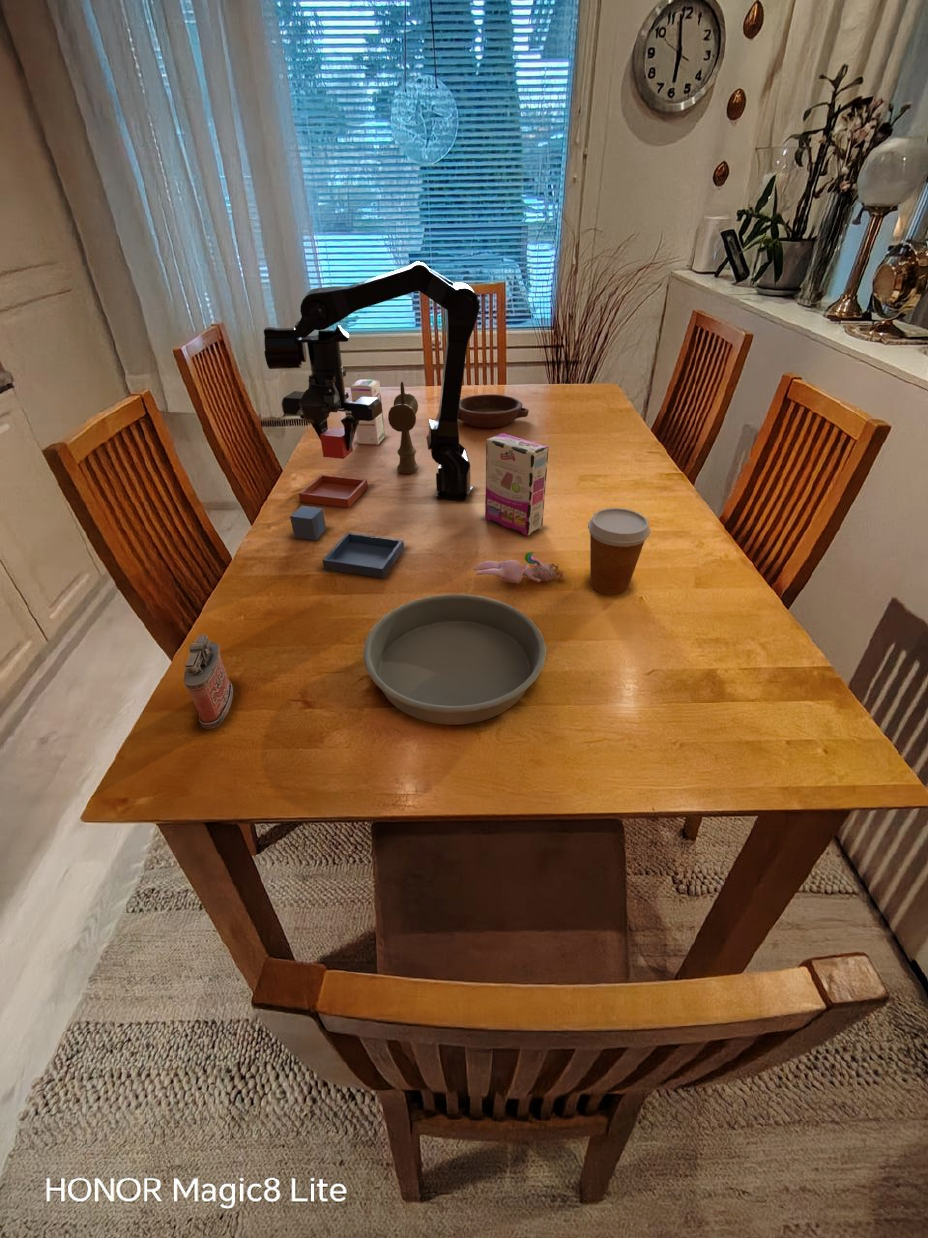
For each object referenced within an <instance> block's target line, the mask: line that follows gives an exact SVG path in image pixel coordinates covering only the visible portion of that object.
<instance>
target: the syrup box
mask: <svg viewBox="0 0 928 1238" xmlns="http://www.w3.org/2000/svg"><path fill="white" fill-rule="evenodd" d="M349 388H350V394H351V402H355V401H356V400H358V399H359V398H361V397H373V398H378V399H379V400H380V402H381V403H382V395H381V385H380V380H377V379H358V380H357V381H355V382H354V383H353V384H351V385H350V387H349ZM382 404H383V403H382ZM383 411H384V410H382V413H381V414H380V415H378V416H377V417H376V418H375V419H374V420H373V421H361V420H360V421H359V424H358V426H357V429H356V432H355V434H356V439H357V443H358V444H363V445H374V446H375V445H377V446H379V445H380V443H381V442H382V441H383V440H384V438H385V437H386V431H385V422H384V421H385V420H384V412H383Z"/></svg>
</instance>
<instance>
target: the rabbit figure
mask: <svg viewBox="0 0 928 1238" xmlns="http://www.w3.org/2000/svg"><path fill="white" fill-rule="evenodd" d="M534 554H535V552H534V551H527V552H526V553H525V554H524V557H523V558H524V561H525V562H526V564H524V566H522V564H521V563H520V562H519V561H517V560H515V559H505V560H503V561H502V560H501V561H495V560H485V561H482V562H480V563H478V564H477V565H476V566H474V568H473V571H478V572H475V575H476V576H481V575H491V576H495V577H499V578H500V579H502V581H504V582H506V583H510V584H511V583H512V584H516V585H518V584H520V583H522V580H523V577H526V578H527V579H531V580H532V581H535V582H537V583H540V582H541V581H542V582H545V583H549V582H552V581H553V580H554V578H555V577H556V576H557V575H559V581H562V580H563V576H564V574H563V573H564V571H561V572H560V571H559V565H560V563H558V564H555V563H554V562H553V563H550V564H547V563H546V562H541V561H540V559H538V558H537V557H534V556H533V555H534ZM531 565H534V567H529V566H531ZM553 568H555V569H554V571H553V570H552V569H553Z"/></svg>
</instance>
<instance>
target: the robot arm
mask: <svg viewBox="0 0 928 1238" xmlns="http://www.w3.org/2000/svg"><path fill="white" fill-rule="evenodd" d="M415 292H419V293H421V294H423V295H424V296H426V297H427V298H429V299H430V300H431V301H433V302H434V303H436V305H438V306H440V307H441V308H443V309H444V320H445V321H444V323H445V332H446V333H445V335H446V343H445V351H444V361H443V367H442V368H443V369H442V370H443V371H442V377H441V378H442V379H441V385H440V386H441V387H440V395H439V405H438V412H437V416H436V418H435V420H433V419H428V433H427V435H426V443H427V450H429V451H430V454H431V458H432V459H433V461H434V462H435V463H436V464H438V467H437V472H436V473H435V483H436V485H435V486H436V488H435V489H436V492H437V494H436V495H435V496H436V498H437V499H445V500H451V501H452V500H453V501H461V502H464V501H466V500H468V497H469V496H470V494H471V493H472V491H473V489H474V488H473V486H472V485H471V463H470V459H469V455H468V453H467V449H466V448H465V447H464V446H463V445H462V444H461V443H460V434H459V433H460V432H459V420H458V412H459V404H460V400H461V396H462V390H463V389H462V388H463V382H464V381H463V380H464V373H465V365H466V358H467V351H468V344H469V342H470V339H471V336H472V334H473V332H474V330H475V326H476V322H477V319H478V316H479V314H480V308H481V307H480V306H481V305H480V303H481V302H480V300H479V297H478V295H477V294H476V292H475V291H474V290H473V288H472V287H471V286H469V285H468V284H467V283H464V282H455V283H454V282H453V281H451V280H449V279H448V278H446V277H445V276H443V275H441V274H440V273H438V272H436V271H435V270H433V269H431V268H429V267H428V266H427V264H425V263H424V262H420V261H415V262H413V263H412V264H410V265H408V266H405V267H401V268H400V269H396V270H394V271H393V270H392V271H390V272H387V273H384V274H381V275H377V276H375V277H371V278H369V279H365V280H363V281H359V282H356V283H353V284H351V285H350V284H349V285H333V286H331V285H330V286H324V287H316V288H312V289H310V290H309V291H308V292H307V293H306V294H305V296H304V297H303V299H302V301H301V303H300V309H299V311H300V316H301V318H300V320H297V321H296V323H295V325H294V327H280V328H277V327H272V326H271V327H270V326H268V327H265V328H264V329H263V337H264V340H263V341H264V352H263V353H264V360H265V362H266V365H267V368H268V369H269V370H281V369H282V370H284V369H286V370H287V369H288V370H289V369H301V368H302V365H303V363H307V353H308V358H309V363H310V365H309V366H310V371H311V374H310V375H308V388H307V389H305V391H301V390H299V391H297V390H293V391H292V392H290V393H289V394H287V395H285V396H284V397H283V398H282V400H281V403H280V405H281V410H282V413H283V414H287V415H298V414H299V412H300V413H301V414H300V415H299V417H300V419H301V420H304V421H307V422H308V423H310V425H311V426H312V428H313V429H314V431H315V432H316V435H317V436H318V439H319V440H320V441H321V438H320V435H321V434H322V433H323V432H325V431H326V430H327V429H329V426H328V425H329V424H328V418H329V417H330V414H331V413H338V412H343V413H344V414H345V417H343V418H342V419H341V420H340V422H341V424H342V426H343V429H344V432H345V444H346V448H347V451H349V450H350V449H351V446H352V447H353V443H354V439H355V435H356V429H357V426H358V424H359V421H360V420H361V421H373V420H374V419H375V418H376V417H377V416H378V415H380V414H381V413H382V411H383V403H381V402H382V401H381V402H380V400H379V399H378V398H373V397H361V398H359V399H358V400H356V401H355V402H352V401H349V400H348V399H349V398H350V396H349V391H346V387H345V379H344V378H345V377H346V376H347V371H346V369H344V368H343V363H342V361H343V360H342V354H341V346H340V343H347V342H349V339H350V334H349V333H348V332H347V331H345V330H344V329H343V328H342V326H341V325H340V324H337V323H339V322H340V321H342V320H344V319H345V318H347V317H348V316H350V315H352V314H353V313H356V312H357V311H359V310H362V309H363V310H364V309H366V308H369V307H373V306H375V305H378V304H381V303H385V302H388V301H391V300H394V299H397V298H400V297H402V296H406V295H409V294H412V293H415ZM335 324H337V326H336V327H335V328H334V329H328V328H330V327H332V326H334V325H335ZM326 329H327V330H326ZM314 331H317V332H318V333H317V334H315V335H310V334H312V333H313V332H314ZM306 345H307V349H306Z"/></svg>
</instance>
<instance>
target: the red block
mask: <svg viewBox="0 0 928 1238" xmlns="http://www.w3.org/2000/svg"><path fill="white" fill-rule="evenodd" d="M320 438H321V440H320V444H321V450H322V457H323V458H329V459H330V458H331V459H339V460H345V459H346V458H347V457H348V456H349V455H351V453H352V452H353V451H354V449H353V445H352V446H351V449H350V450H349V451H347V448H346V444H345V432H344V428H342V427H341V428H340V427H328V429H327V430H326V431H325V432H323V433H322V434H321V435H320ZM320 438H319V439H320Z"/></svg>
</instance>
